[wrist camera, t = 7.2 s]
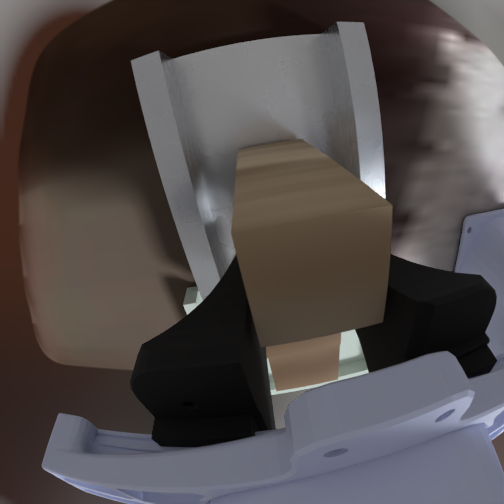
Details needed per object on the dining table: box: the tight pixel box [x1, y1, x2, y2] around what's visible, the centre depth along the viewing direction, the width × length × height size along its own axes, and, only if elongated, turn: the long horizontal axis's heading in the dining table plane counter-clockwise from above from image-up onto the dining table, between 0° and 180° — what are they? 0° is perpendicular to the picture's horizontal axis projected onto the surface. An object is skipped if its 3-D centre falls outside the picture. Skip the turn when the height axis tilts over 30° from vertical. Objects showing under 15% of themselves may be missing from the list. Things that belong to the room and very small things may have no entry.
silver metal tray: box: [131, 22, 385, 300], centre depth 13 cm, size 13×10×3 cm
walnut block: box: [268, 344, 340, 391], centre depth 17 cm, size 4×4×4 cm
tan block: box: [231, 139, 393, 348], centre depth 10 cm, size 6×5×9 cm
